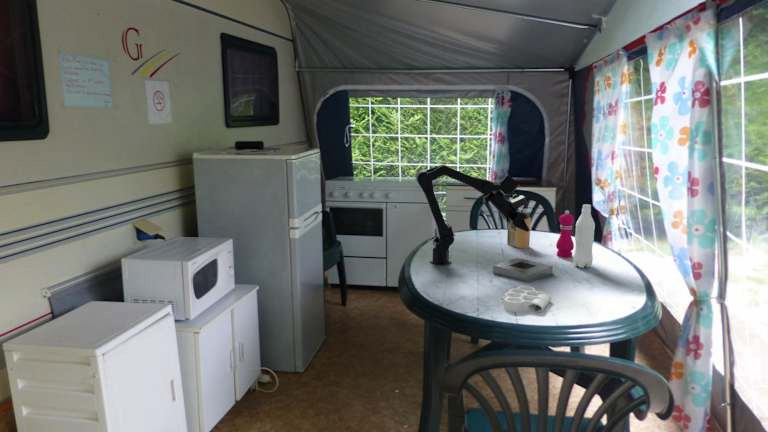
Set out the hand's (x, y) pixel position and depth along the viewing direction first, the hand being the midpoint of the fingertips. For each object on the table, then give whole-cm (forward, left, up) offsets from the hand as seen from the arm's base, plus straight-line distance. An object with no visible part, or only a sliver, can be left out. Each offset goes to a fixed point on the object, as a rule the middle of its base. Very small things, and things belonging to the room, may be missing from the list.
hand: (526, 229), depth 217 cm
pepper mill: (+19, -7, -14) cm, 25 cm away
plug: (-1, +1, -7) cm, 7 cm away
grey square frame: (-15, -9, -13) cm, 22 cm away
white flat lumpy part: (-43, -28, -14) cm, 53 cm away
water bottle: (+10, -20, -14) cm, 26 cm away
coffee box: (+20, +17, -14) cm, 30 cm away
